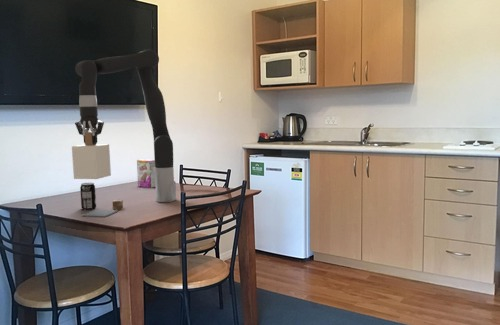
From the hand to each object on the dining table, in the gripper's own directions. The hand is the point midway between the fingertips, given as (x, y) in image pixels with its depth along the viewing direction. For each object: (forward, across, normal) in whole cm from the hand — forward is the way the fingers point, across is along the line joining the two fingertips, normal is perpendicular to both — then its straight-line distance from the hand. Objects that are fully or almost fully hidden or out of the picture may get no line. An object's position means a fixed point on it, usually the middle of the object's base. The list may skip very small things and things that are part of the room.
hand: (90, 143), depth 210 cm
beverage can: (+31, +6, -5) cm, 32 cm away
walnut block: (+31, -8, -7) cm, 33 cm away
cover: (+15, 0, 0) cm, 15 cm away
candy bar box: (+31, +8, -68) cm, 75 cm away
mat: (+31, -6, +5) cm, 32 cm away
